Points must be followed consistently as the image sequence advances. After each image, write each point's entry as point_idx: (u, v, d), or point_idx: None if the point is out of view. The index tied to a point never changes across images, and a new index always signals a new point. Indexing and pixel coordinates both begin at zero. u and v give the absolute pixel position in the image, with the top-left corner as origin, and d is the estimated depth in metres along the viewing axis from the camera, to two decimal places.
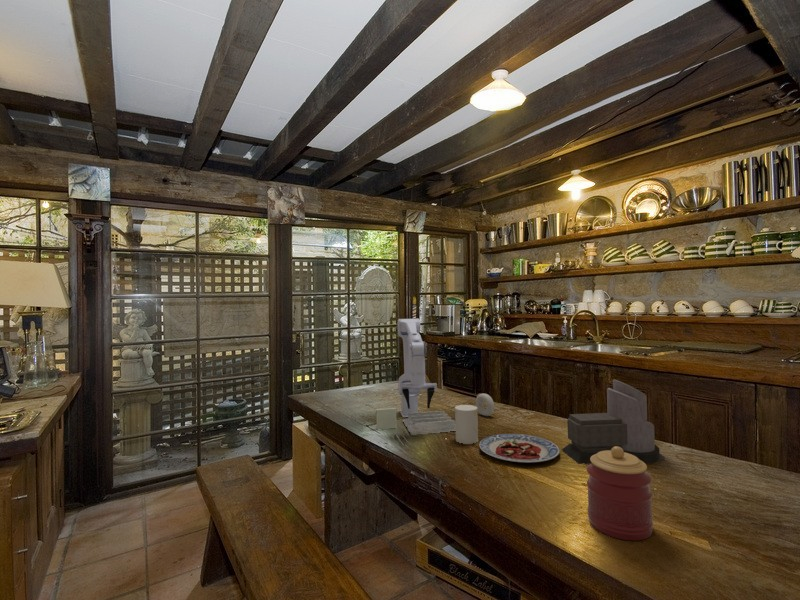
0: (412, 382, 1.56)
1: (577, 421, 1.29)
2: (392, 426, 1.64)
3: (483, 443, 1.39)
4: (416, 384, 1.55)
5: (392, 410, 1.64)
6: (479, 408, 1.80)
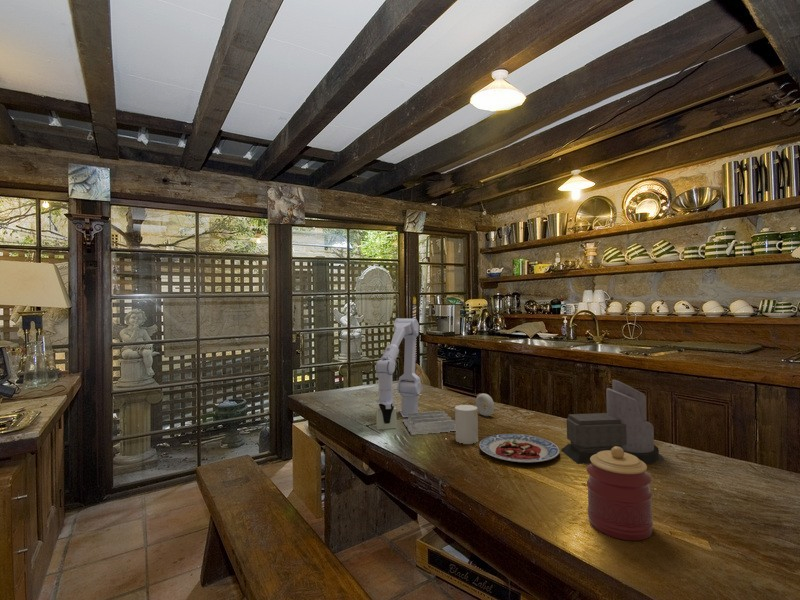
0: None
1: (576, 421, 1.29)
2: (392, 426, 1.64)
3: (483, 443, 1.39)
4: None
5: None
6: (479, 408, 1.80)
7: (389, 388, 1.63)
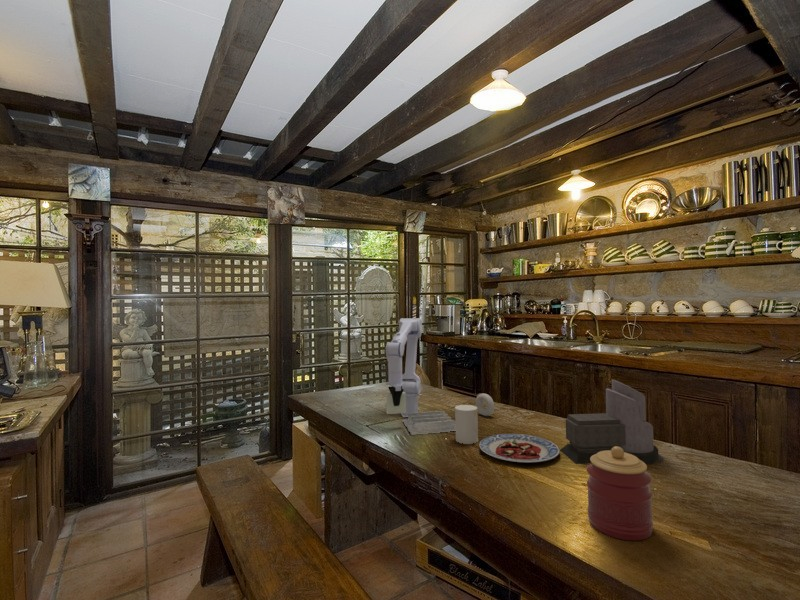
0: None
1: (575, 421, 1.29)
2: (402, 410, 1.64)
3: (483, 443, 1.39)
4: None
5: None
6: (479, 408, 1.80)
7: (400, 370, 1.63)
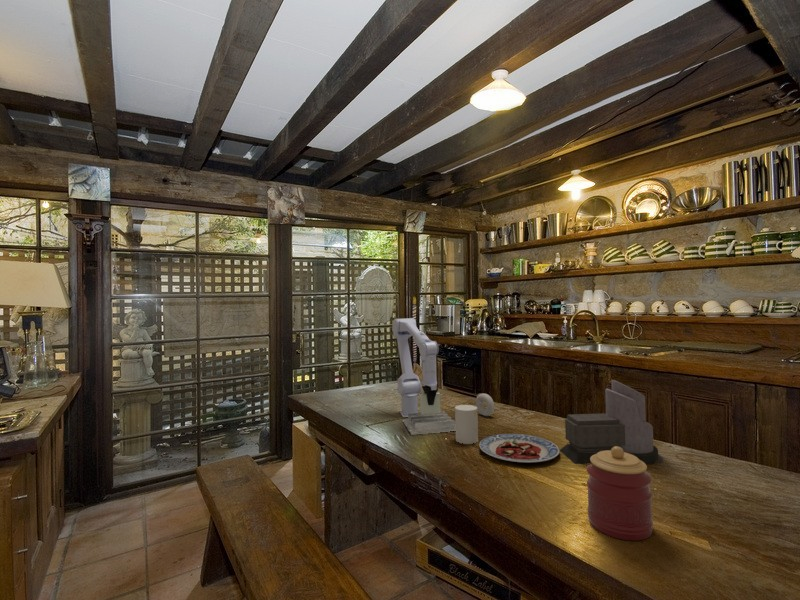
0: None
1: (574, 421, 1.29)
2: (436, 411, 1.65)
3: (483, 443, 1.39)
4: None
5: (436, 395, 1.65)
6: (479, 408, 1.80)
7: None
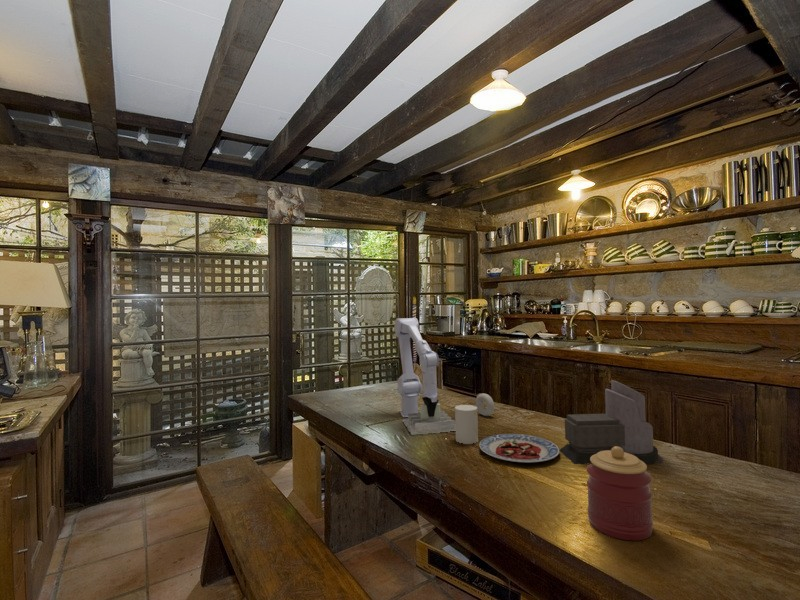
0: None
1: (574, 421, 1.29)
2: None
3: (483, 443, 1.39)
4: (423, 392, 1.66)
5: (436, 406, 1.65)
6: (479, 408, 1.80)
7: None
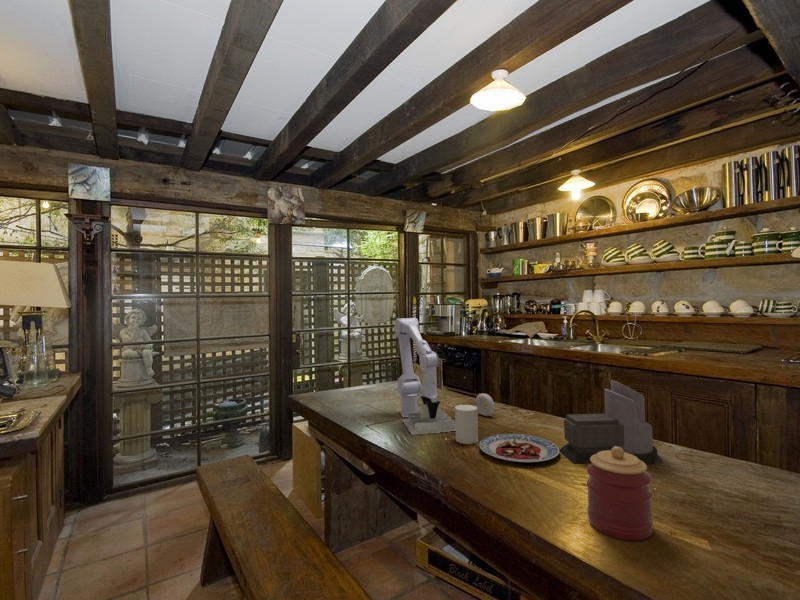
0: None
1: (573, 421, 1.29)
2: None
3: (483, 443, 1.39)
4: (423, 392, 1.66)
5: None
6: (479, 408, 1.80)
7: None
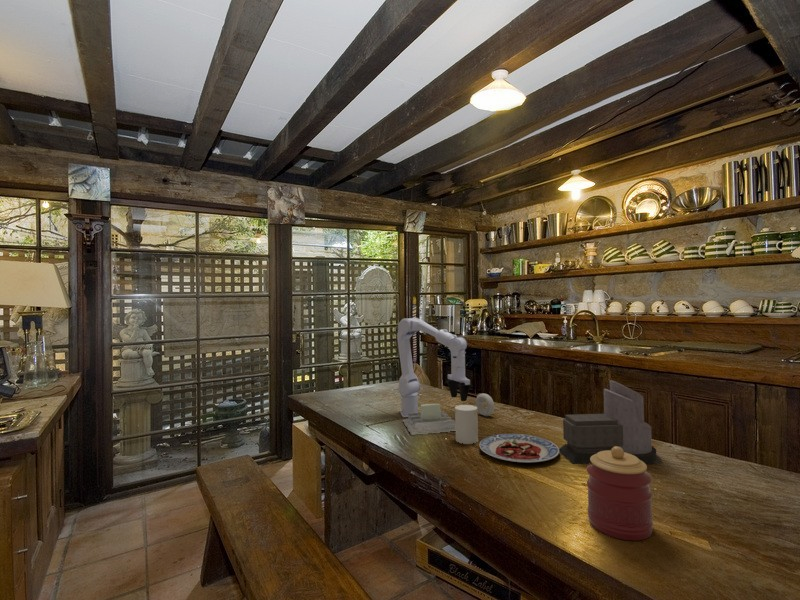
0: None
1: (572, 422, 1.29)
2: None
3: (483, 443, 1.39)
4: (451, 376, 1.68)
5: (436, 406, 1.65)
6: (479, 408, 1.80)
7: None
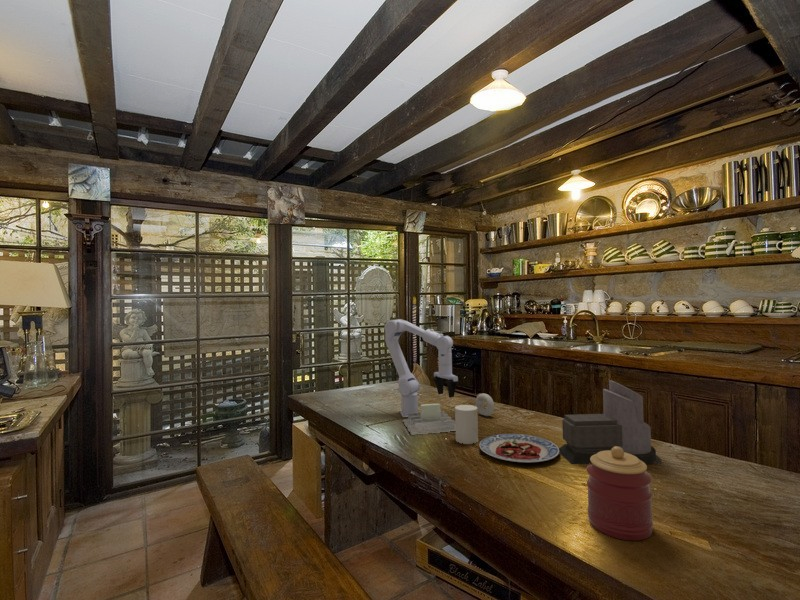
0: None
1: (571, 422, 1.29)
2: None
3: (483, 443, 1.39)
4: (439, 373, 1.75)
5: (436, 406, 1.65)
6: (479, 408, 1.80)
7: None
